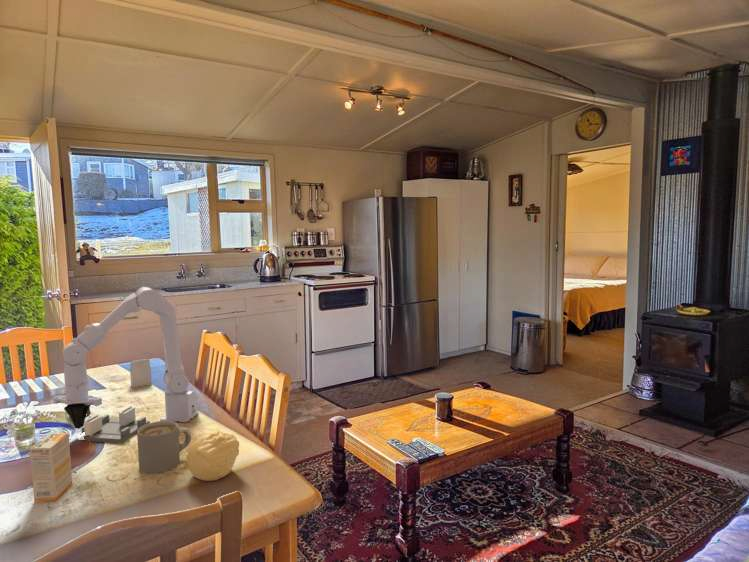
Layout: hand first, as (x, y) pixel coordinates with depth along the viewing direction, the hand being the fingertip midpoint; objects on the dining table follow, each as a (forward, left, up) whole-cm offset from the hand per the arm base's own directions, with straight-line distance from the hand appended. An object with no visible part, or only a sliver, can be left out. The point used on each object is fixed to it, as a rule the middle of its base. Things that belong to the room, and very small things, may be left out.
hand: (79, 427), depth 151 cm
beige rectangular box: (+11, -47, -3) cm, 48 cm away
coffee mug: (-35, +12, -3) cm, 37 cm away
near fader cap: (-5, 0, -1) cm, 5 cm away
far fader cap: (-10, -8, -1) cm, 13 cm away
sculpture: (-50, +16, -3) cm, 53 cm away
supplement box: (-17, +30, -3) cm, 35 cm away
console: (-9, -4, -3) cm, 10 cm away
